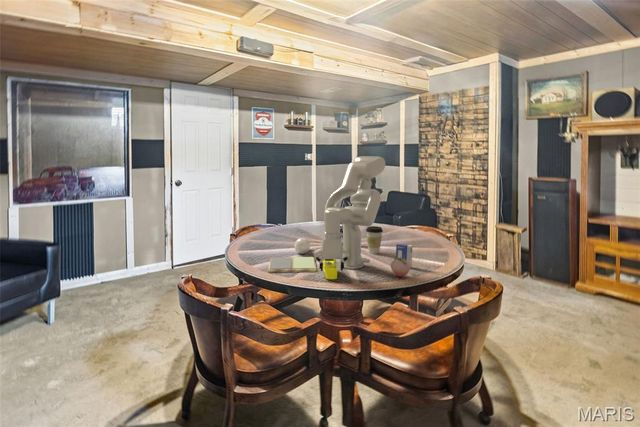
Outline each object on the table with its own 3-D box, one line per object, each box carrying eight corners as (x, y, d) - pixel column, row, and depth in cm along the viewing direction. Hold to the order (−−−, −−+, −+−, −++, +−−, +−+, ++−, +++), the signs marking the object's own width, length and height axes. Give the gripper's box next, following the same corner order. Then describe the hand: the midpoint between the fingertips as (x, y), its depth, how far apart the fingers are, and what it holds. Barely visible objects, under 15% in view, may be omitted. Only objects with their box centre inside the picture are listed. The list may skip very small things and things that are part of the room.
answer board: (314, 259, 218) (314, 256, 218) (316, 271, 196) (316, 268, 196) (270, 259, 216) (270, 257, 216) (268, 272, 195) (268, 269, 194)
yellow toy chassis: (337, 280, 184) (338, 263, 182) (325, 280, 183) (326, 263, 182) (333, 270, 200) (333, 254, 198) (322, 270, 199) (322, 254, 198)
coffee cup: (363, 250, 236) (364, 226, 234) (379, 250, 238) (380, 225, 235) (367, 255, 227) (368, 229, 224) (384, 254, 228) (384, 229, 225)
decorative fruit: (413, 277, 188) (414, 257, 186) (401, 281, 183) (402, 260, 181) (399, 272, 195) (400, 253, 194) (387, 275, 191) (388, 255, 189)
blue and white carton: (395, 266, 206) (396, 243, 204) (397, 264, 208) (398, 242, 206) (410, 268, 202) (411, 245, 200) (411, 267, 204) (412, 244, 202)
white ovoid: (299, 258, 224) (302, 254, 239) (313, 248, 224) (315, 245, 239) (289, 245, 224) (293, 241, 239) (303, 235, 224) (306, 232, 239)
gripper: (349, 233, 191) (348, 267, 194) (313, 234, 190) (313, 268, 192) (351, 237, 183) (350, 272, 186) (314, 237, 182) (314, 273, 185)
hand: (331, 270), depth 189 cm, fingers open, 9 cm apart
